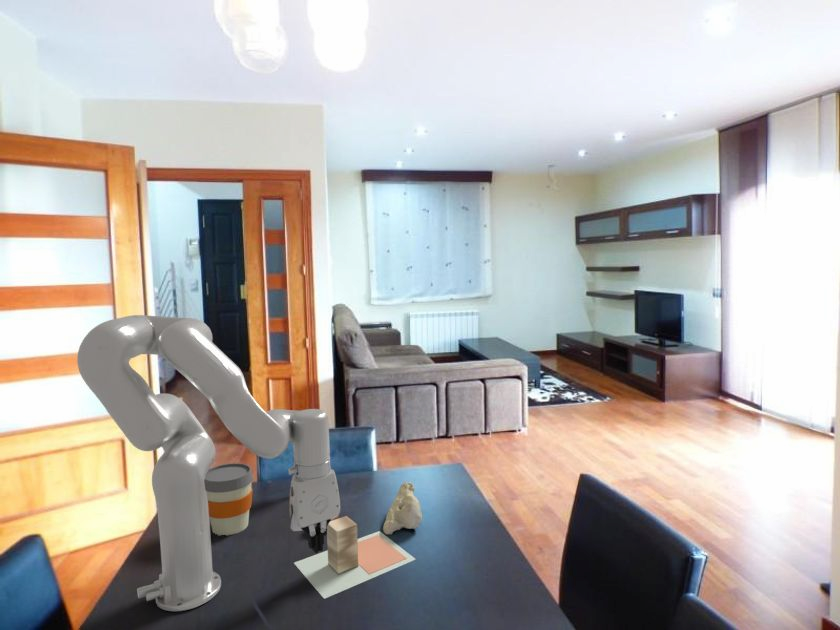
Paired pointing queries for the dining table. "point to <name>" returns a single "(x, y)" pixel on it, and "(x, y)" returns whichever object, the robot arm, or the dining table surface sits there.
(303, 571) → the mat
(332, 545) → the maple block
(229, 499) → the reusable coffee cup
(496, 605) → the dining table surface
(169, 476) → the robot arm
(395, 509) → the beige rock
